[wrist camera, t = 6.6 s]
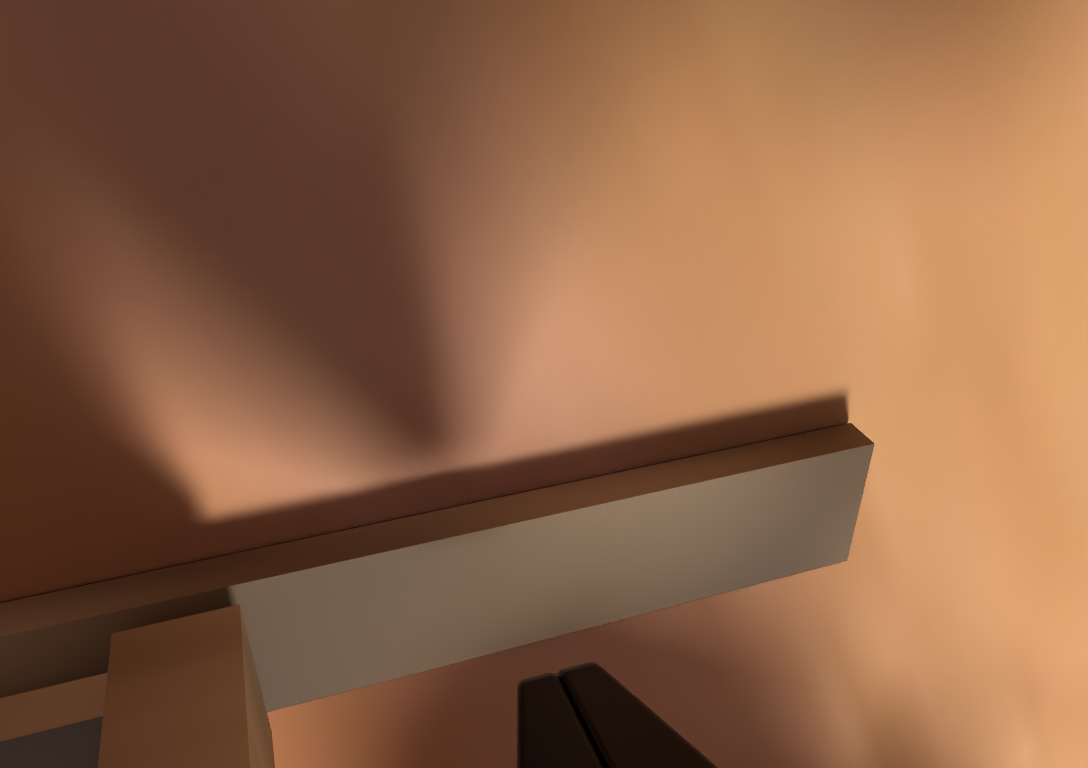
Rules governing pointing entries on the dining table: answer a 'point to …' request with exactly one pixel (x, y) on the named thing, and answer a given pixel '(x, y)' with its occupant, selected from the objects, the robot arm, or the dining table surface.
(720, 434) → the dining table surface
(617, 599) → the rail
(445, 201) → the dining table surface
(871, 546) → the dining table surface
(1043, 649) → the dining table surface
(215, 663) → the menu board
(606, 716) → the robot arm
